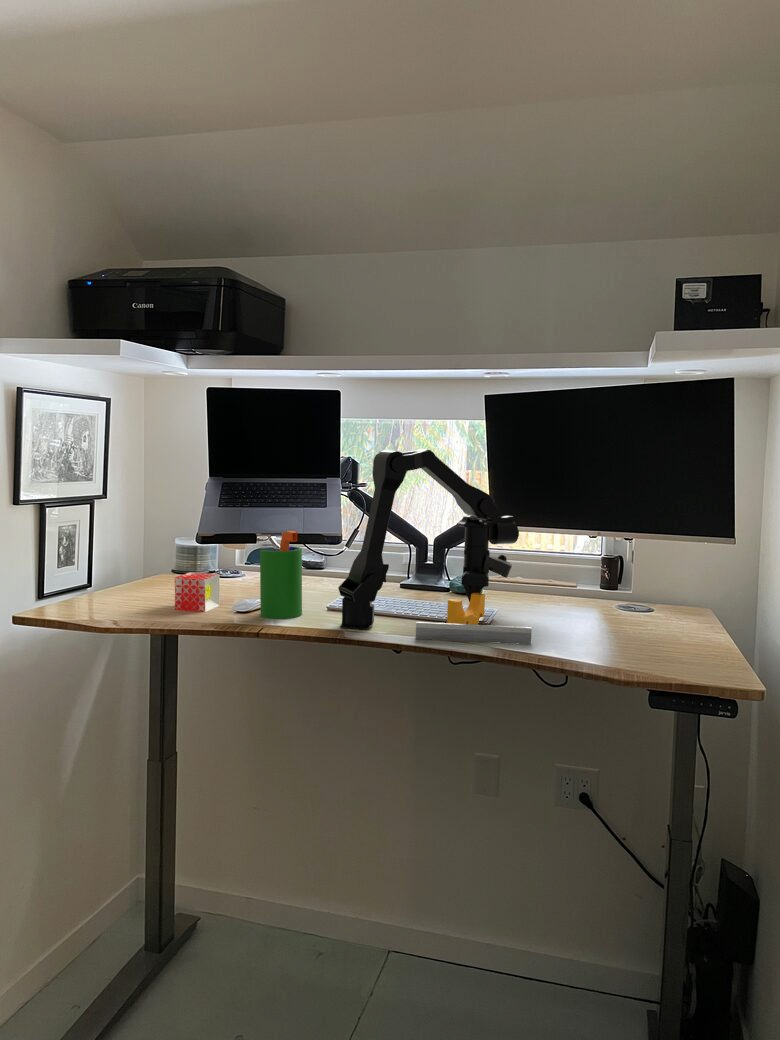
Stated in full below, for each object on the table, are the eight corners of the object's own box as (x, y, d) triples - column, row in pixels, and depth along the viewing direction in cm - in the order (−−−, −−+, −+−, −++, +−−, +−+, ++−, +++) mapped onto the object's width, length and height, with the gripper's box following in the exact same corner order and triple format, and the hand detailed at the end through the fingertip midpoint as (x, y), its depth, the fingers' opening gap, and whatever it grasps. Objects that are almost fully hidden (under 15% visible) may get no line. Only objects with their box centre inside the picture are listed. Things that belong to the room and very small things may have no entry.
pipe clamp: (463, 631, 176) (464, 602, 175) (446, 628, 178) (447, 600, 178) (490, 622, 185) (491, 595, 185) (474, 619, 188) (475, 592, 187)
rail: (415, 638, 167) (416, 622, 167) (416, 636, 169) (416, 620, 169) (530, 644, 165) (531, 628, 164) (530, 642, 167) (531, 626, 166)
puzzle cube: (205, 612, 189) (205, 579, 188) (174, 610, 190) (174, 577, 190) (219, 605, 196) (219, 574, 196) (190, 603, 198) (190, 572, 197)
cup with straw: (276, 608, 194) (277, 527, 192) (309, 612, 191) (310, 529, 189) (255, 616, 185) (255, 531, 183) (289, 620, 182) (290, 533, 180)
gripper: (511, 551, 180) (509, 619, 181) (509, 541, 198) (506, 603, 200) (462, 549, 181) (460, 617, 182) (464, 539, 199) (462, 601, 201)
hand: (474, 609), depth 191 cm, fingers closed
